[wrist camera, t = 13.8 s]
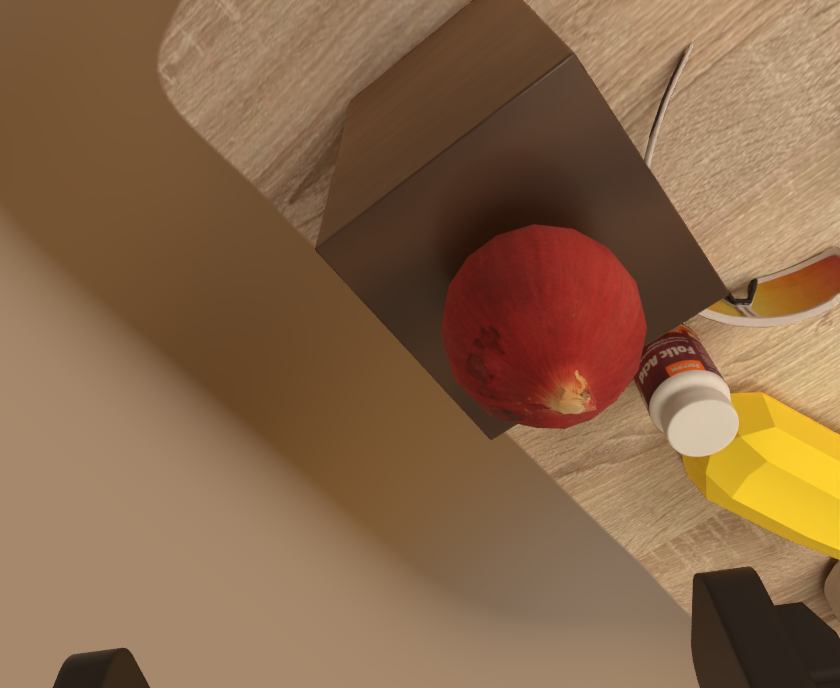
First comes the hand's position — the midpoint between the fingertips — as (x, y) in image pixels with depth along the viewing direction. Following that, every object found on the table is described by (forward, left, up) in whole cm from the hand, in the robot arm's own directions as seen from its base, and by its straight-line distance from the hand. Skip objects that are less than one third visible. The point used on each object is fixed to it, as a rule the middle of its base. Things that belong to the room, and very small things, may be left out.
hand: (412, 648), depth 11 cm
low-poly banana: (+29, +22, -37) cm, 52 cm away
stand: (+2, +4, -36) cm, 37 cm away
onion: (+2, +4, -17) cm, 17 cm away
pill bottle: (+19, +14, -37) cm, 44 cm away
